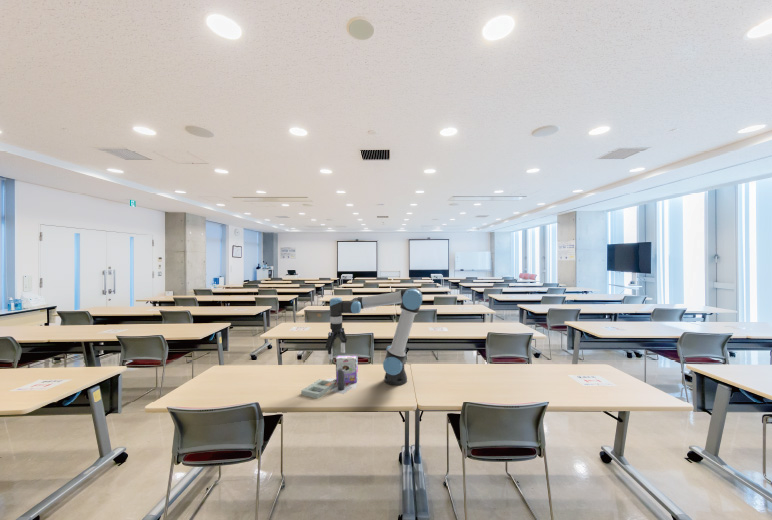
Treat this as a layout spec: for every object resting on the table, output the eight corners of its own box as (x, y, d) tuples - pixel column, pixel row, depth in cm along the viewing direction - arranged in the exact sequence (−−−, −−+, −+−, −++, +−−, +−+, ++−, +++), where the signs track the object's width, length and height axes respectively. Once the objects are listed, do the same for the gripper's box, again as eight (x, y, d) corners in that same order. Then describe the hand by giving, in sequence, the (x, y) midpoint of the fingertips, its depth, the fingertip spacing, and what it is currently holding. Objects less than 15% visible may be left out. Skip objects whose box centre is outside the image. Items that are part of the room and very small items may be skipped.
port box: (335, 386, 202) (334, 381, 202) (317, 398, 185) (317, 393, 185) (319, 383, 207) (319, 378, 207) (301, 395, 190) (301, 389, 190)
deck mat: (352, 387, 200) (352, 387, 200) (343, 394, 191) (343, 393, 191) (338, 385, 204) (338, 384, 204) (330, 391, 195) (330, 390, 195)
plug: (345, 388, 198) (345, 369, 198) (342, 390, 195) (342, 371, 194) (340, 387, 200) (340, 368, 200) (336, 389, 196) (336, 370, 196)
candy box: (358, 379, 212) (357, 355, 212) (356, 383, 207) (356, 358, 206) (338, 379, 214) (337, 355, 213) (335, 382, 208) (335, 358, 208)
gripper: (342, 318, 214) (343, 349, 214) (319, 326, 191) (319, 361, 192) (351, 319, 210) (352, 350, 211) (329, 327, 188) (330, 362, 188)
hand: (337, 355), depth 201 cm, fingers open, 13 cm apart
